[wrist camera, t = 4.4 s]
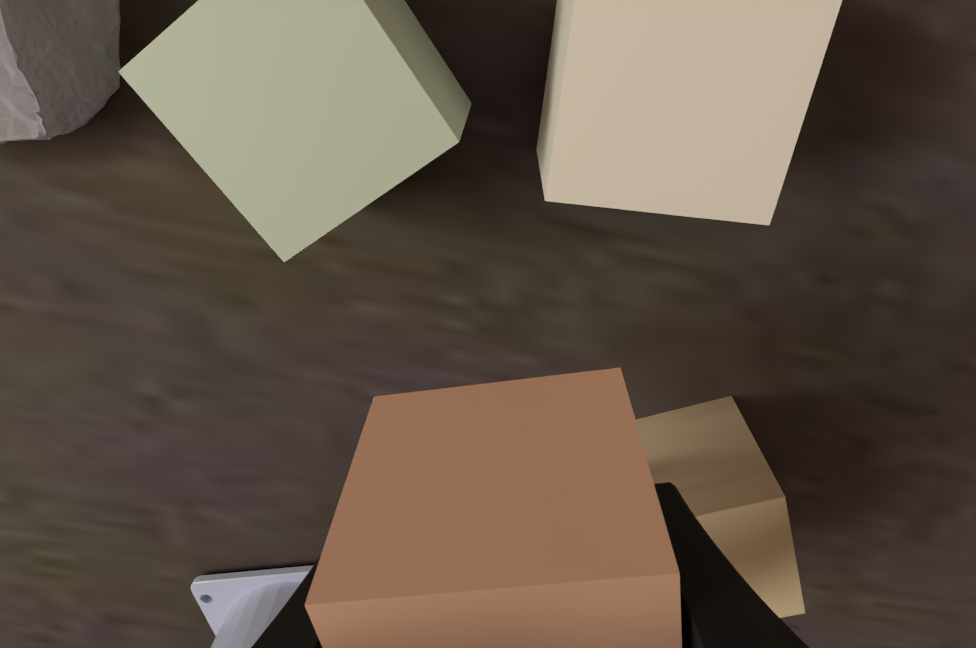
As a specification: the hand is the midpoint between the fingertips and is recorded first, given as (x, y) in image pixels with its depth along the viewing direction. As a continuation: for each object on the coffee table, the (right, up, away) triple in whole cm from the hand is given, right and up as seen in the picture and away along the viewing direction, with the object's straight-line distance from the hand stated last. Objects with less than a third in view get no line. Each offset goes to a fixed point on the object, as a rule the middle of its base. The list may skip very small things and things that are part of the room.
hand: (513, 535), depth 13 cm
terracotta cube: (0, +1, +1) cm, 2 cm away
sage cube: (-4, +11, +5) cm, 13 cm away
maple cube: (+6, -1, +11) cm, 13 cm away
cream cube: (+4, +11, +5) cm, 13 cm away
